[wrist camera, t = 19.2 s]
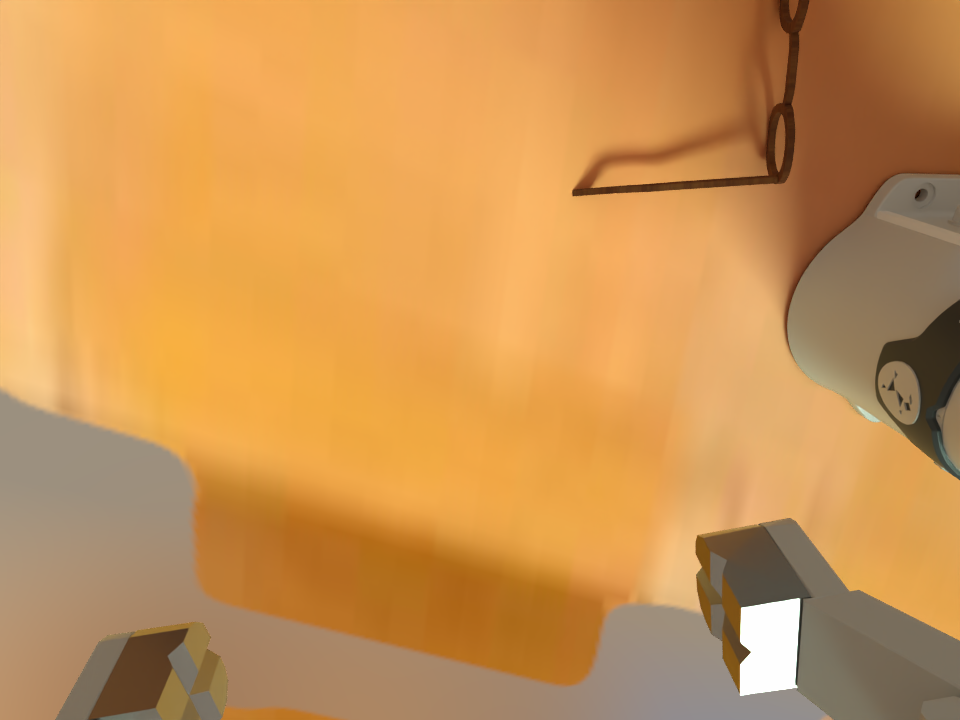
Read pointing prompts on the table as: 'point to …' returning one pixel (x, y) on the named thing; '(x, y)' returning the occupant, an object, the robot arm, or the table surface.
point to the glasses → (779, 109)
